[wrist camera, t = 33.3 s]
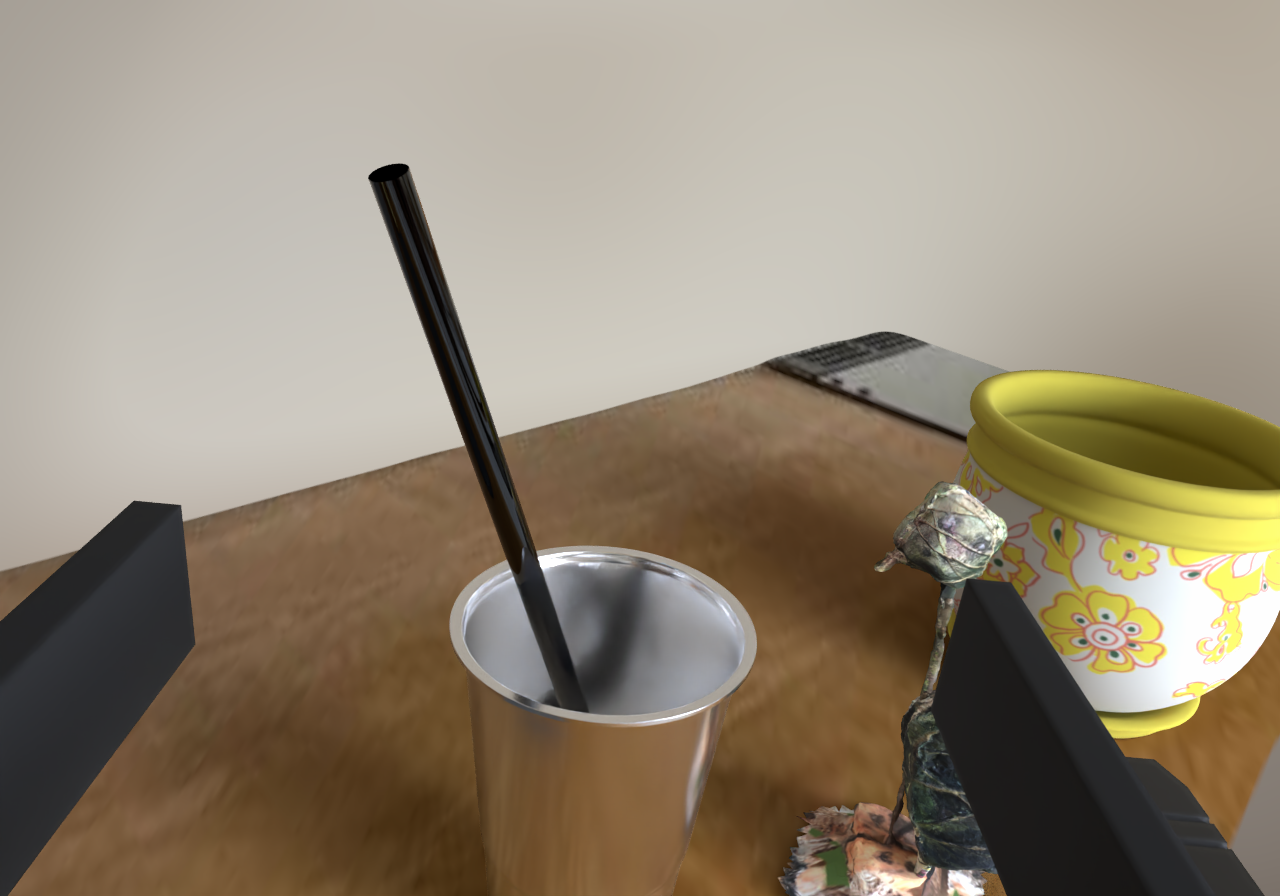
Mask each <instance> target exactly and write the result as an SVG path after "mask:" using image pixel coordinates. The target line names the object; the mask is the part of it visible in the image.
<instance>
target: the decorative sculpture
mask: <svg viewBox="0 0 1280 896" xmlns="http://www.w3.org/2000/svg"><path fill="white" fill-rule="evenodd" d="M893 534H894V537H893V539H894V544H895V549H894V550H893V551H892V552H887V553H886V555H885V557H884V559H882V560H880V561H879V562H877V563H876V564H875V566H874V569H875V570H876V571H880V572H884V571H886V570H889V569H890V568H891V567H892V566H893V565H894V564H897V563H902V564H905V565H908V566H910V567H911V568H915V569H919V570H922V571H924V572H926V573H929V574H930V575H931V576H932V577H933V578H934V579H935V580H936V581H938V582H940V583H941V585H940V586H941V592H940V597H939V605H938V609H937V613H938V616H937V619H936V626H935V629H936V635H935V640H934V645H933V650H932V652H931V658H930V664H929V668H928V671H927V675H926V679H925V682H924V684H923V687H922V691H921V694H920V696H919V697H917V698H916V699H915V700H913V701H912V704H911V706H909V710H907V712H906V714H905V715H904V716H903V718H902V722H901V730H902V732H901V739H902V742H903V745H904V761H903V764H902V770H903V782H902V784H901V786H900V788H899V792H898V796H897V805H896V807H895V809H894V811H891V810H889V809H887V808H885V807H883V806H880V805H877V804H872V803H863V802H861V803H858V804H856V805H855V808H854V810H850V809H848V808H846V807H845V806H843V805H842V807H841V809H840V811H838V810H837V808H836V806H834V807H832V808H830V809H829V808H826V807H823V806H821V807H820V808H819V809H817V810H816V811H810V812H813V813H804V812H803V813H804V814H805V816H806V818H807V819H805V818H802V817H798V816H797V817H798V818H800V819H802V820H804V821H806V822H808V823H810V824H811V825H809V826H806V827H803V828H800V829H798V831H801V832H804V833H807V834H806V835H803V836H800V837H797V841H798V846H799V848H795V847H790V849H791V851H792V854H793V855H792V856H791V857H789V859H791V860H792V861H793V862H791V863H787V864H788V865H789V866H790V867H791V868H792V869H790V868H784V867H783V870H784V873H785V875H786V876H782V877H778V879H779V881H780V883H781V885H782V887H783V888H784V889H785V890H786V892H785V893H787V894H789V895H790V896H981V895H984V894H985V893H983V892H982V891H984V890H983V886H982V884H984V883H985V882H987V880H986V879H985V878H983V877H982V876H981V875H980V874H982V873H984V871H985V872H988V873H993V874H998V872H997V870H996V868H995V865H994V863H993V860H992V858H991V855H990V853H989V851H988V848H987V846H986V843H985V841H984V838H983V836H982V834H981V831H980V829H979V826H978V824H977V821H976V819H975V816H974V814H973V812H972V809H971V807H970V804H969V802H968V799H967V797H966V795H965V792H964V790H963V787H962V785H961V782H960V780H959V778H958V775H957V773H956V770H955V768H954V765H953V763H952V761H951V758H950V756H949V753H948V751H947V748H946V746H945V744H944V741H943V739H942V736H941V734H940V731H939V729H938V727H937V724H936V722H935V719H934V717H933V714H932V712H931V706H932V703H933V699H934V695H935V692H936V690H933V691H932V687H933V684H934V683H935V681H936V679H937V675H938V672H939V670H940V663H941V660H942V656H943V651H944V637H945V636H946V626H947V624H948V622H949V620H950V617H951V614H952V609H953V608H954V595H955V593H956V590H955V589H959V588H963V587H964V586H965V582H966V578H969V579H976V578H977V577H980V576H981V575H982V574H983V571H984V570H985V569H986V568H987V564H988V562H989V561H990V558H991V557H992V556H993V555H995V554H996V553H997V552H998V551H999V549H1000V548H1001V546H1002V545H1003V543H1004V541H1005V539H1006V538H1007V526H1006V524H1005V521H1004V520H1003V519H1002V518H1000V517H997V515H996V514H994V513H993V512H991V511H990V510H989V508H988V507H987V506H985V505H984V504H982V503H981V502H980V501H979V500H978V499H977V498H975V497H974V496H973V495H972V494H970V492H969V491H967V490H966V489H964V488H963V487H962V486H960V485H958V484H957V483H946V482H938V483H937V484H936V485H935V486H934V487H933V488H932V489H931V490H930V491H929V493H928V494H927V496H926V497H925V500H924V501H923V502H922V503H921V504H920V505H919V506H917V507H916V508H915V509H914V510H913V511H912V512H910V513H909V514H908V515H907V516H906V518H904V519H903V521H902V522H901V524H900V525H899V526H898V527H897V529H896V530H895V532H894V533H893ZM904 791H905V793H906V796H907V809H908V812H909V817H906V816H904V815H903V814H901V813H900V812H901V810H902V808H903V804H904V803H903V796H904ZM977 887H978V888H977ZM980 889H981V890H982V891H981V890H980Z"/></svg>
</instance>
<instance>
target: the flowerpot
mask: <svg viewBox="0 0 1280 896" xmlns="http://www.w3.org/2000/svg"><path fill="white" fill-rule="evenodd" d="M970 410H971V413H972V416H973V418H974V420H975V422H976V424H975V425H973V426H972V428H971V429H970V430H969V433H968V435H967V446H968V449H967V452H966V454H965V457H964V459H963V461H962V464H961V466H960V468H959V470H958V473H957V475H956V477H955V480H954V482H953V483H957V484H958V485H960V486H962V487H963V488H964V489H966V490H967V491H969V492H970V494H972V495H973V496H974V497H975V498H977V499H978V500H979V501H980V502H981V503H982V504H984V505H985V506H987V507H988V508H989V510H990V511H991V512H993V513H994V514H996V515H997V517H1000V518H1002V519H1003V520H1004V521H1005V524H1006V526H1007V538H1006V539H1005V541H1004V543H1003V545H1002V546H1001V548H1000V549H999V551H998V552H997V553H996V554H995V555H993V556H992V557H991V558H990V561H989V562H988V564H987V568H986V569H985V570H984V571H983V574H982V575H981V576H980V577H977V578H976V579H980V580H990V581H1001V582H1011V583H1012V584H1013V586H1014V587H1015V589H1016V590H1017V592H1018V594H1019V595H1020V597H1021V598H1022V600H1023V601H1024V603H1025V604H1026V606H1027V607H1028V609H1029V610H1030V612H1031V613H1032V615H1033V616H1034V618H1035V620H1036V621H1037V623H1038V624H1039V626H1040V627H1041V629H1042V630H1043V632H1044V633H1045V635H1046V636H1047V638H1048V639H1049V641H1050V643H1051V644H1052V646H1053V647H1054V649H1055V650H1056V652H1057V653H1058V655H1059V656H1060V658H1061V659H1062V661H1063V662H1064V664H1065V665H1066V667H1067V669H1068V670H1069V672H1070V673H1071V675H1072V676H1073V678H1074V679H1075V681H1076V682H1077V684H1078V685H1079V687H1080V688H1081V690H1082V691H1083V693H1084V695H1085V696H1086V698H1087V699H1088V701H1089V702H1090V704H1091V705H1092V707H1093V708H1094V710H1095V711H1096V713H1097V714H1098V716H1099V717H1100V719H1101V721H1102V722H1103V724H1104V725H1105V727H1106V728H1107V730H1108V731H1109V733H1110V734H1111V736H1112V737H1113V738H1134V737H1141V736H1146V735H1149V734H1152V733H1155V732H1157V731H1161V730H1166V729H1169V728H1173V727H1175V726H1178V725H1180V724H1182V723H1184V722H1185V721H1187V720H1188V719H1189V718H1190V717H1191V716H1192V715H1193V714H1194V713H1195V711H1196V710H1197V708H1198V706H1199V702H1200V696H1201V695H1203V694H1205V693H1207V692H1209V691H1211V690H1212V689H1214V688H1216V687H1217V686H1219V685H1220V684H1222V683H1223V682H1225V681H1226V680H1228V679H1229V678H1230V677H1232V676H1233V675H1234V674H1235V673H1237V672H1238V671H1239V670H1240V669H1241V668H1242V667H1243V666H1244V665H1245V664H1246V663H1247V662H1248V661H1249V660H1250V659H1251V658H1252V656H1253V655H1254V654H1255V653H1256V651H1257V650H1258V648H1259V647H1260V646H1261V644H1262V643H1263V641H1264V640H1265V638H1266V636H1267V635H1268V633H1269V631H1270V629H1271V627H1272V625H1273V623H1274V621H1275V619H1276V617H1277V614H1278V612H1279V610H1280V427H1278V426H1276V425H1274V424H1272V423H1270V422H1267V421H1266V420H1263V419H1261V418H1259V417H1256V416H1254V415H1251V414H1249V413H1246V412H1243V411H1241V410H1239V409H1236V408H1233V407H1230V406H1227V405H1225V404H1222V403H1218V402H1216V401H1212V400H1209V399H1206V398H1203V397H1200V396H1196V395H1193V394H1189V393H1186V392H1182V391H1179V390H1175V389H1171V388H1166V387H1163V386H1159V385H1154V384H1150V383H1145V382H1140V381H1135V380H1130V379H1125V378H1119V377H1113V376H1106V375H1100V374H1092V373H1084V372H1074V371H1059V370H1025V371H1014V372H1007V373H1002V374H998V375H995V376H992V377H990V378H987V379H986V380H984V381H982V382H981V383H980V384H979V385H978V386H977V387H976V388H975V390H974V391H973V393H972V396H971V400H970ZM963 589H964V587H963V588H959V589H955V590H956V593H955V595H954V608H953V609H952V614H951V617H950V620H949V622H948V624H947V628H948V633H949V637H951V633H952V630H953V626H954V622H955V619H956V615H957V611H958V608H959V604H960V600H961V597H962V593H963Z"/></svg>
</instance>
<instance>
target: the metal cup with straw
mask: <svg viewBox="0 0 1280 896" xmlns="http://www.w3.org/2000/svg"><path fill="white" fill-rule="evenodd" d="M368 179H369V181H370V184H371V187H372V189H373V192H374V195H375V198H376V201H377V203H378V206H379V209H380V211H381V214H382V217H383V220H384V223H385V225H386V228H387V231H388V234H389V236H390V239H391V242H392V245H393V248H394V250H395V253H396V256H397V259H398V261H399V264H400V267H401V270H402V272H403V275H404V278H405V281H406V283H407V286H408V289H409V291H410V294H411V297H412V300H413V303H414V305H415V308H416V311H417V314H418V316H419V319H420V321H421V324H422V327H423V330H424V333H425V336H426V338H427V341H428V344H429V347H430V349H431V352H432V355H433V357H434V360H435V363H436V366H437V369H438V371H439V374H440V377H441V379H442V382H443V385H444V388H445V391H446V394H447V396H448V399H449V402H450V405H451V407H452V410H453V413H454V415H455V418H456V421H457V424H458V427H459V429H460V432H461V435H462V438H463V440H464V443H465V446H466V449H467V451H468V454H469V457H470V460H471V462H472V465H473V468H474V471H475V473H476V476H477V479H478V482H479V484H480V487H481V490H482V493H483V495H484V498H485V501H486V504H487V506H488V509H489V512H490V515H491V517H492V520H493V523H494V526H495V528H496V531H497V534H498V537H499V540H500V542H501V545H502V548H503V551H504V553H505V556H506V559H507V560H506V561H504V562H501V563H499V564H497V565H495V566H493V567H491V568H489V569H488V570H486V571H485V572H483V573H482V574H480V575H479V576H477V577H476V578H475V579H474V580H472V581H471V582H470V583H469V584H468V585H467V586H466V587H465V588H464V590H463V591H462V592H461V593H460V595H459V596H458V598H457V600H456V602H455V604H454V606H453V609H452V612H451V616H450V639H451V644H452V647H453V650H454V652H455V654H456V656H457V658H458V660H459V662H460V663H461V665H462V666H463V667H464V669H465V670H466V673H467V684H468V695H469V706H470V717H471V728H472V740H473V751H474V762H475V774H476V785H477V797H478V808H479V820H480V831H481V837H482V842H483V845H484V851H485V863H486V877H487V890H488V896H672V894H673V890H674V887H675V883H676V879H677V876H678V872H679V868H680V865H681V863H682V861H683V859H684V856H685V854H686V851H687V849H688V845H689V841H690V838H691V834H692V831H693V827H694V824H695V820H696V817H697V813H698V809H699V806H700V802H701V799H702V795H703V792H704V788H705V785H706V781H707V778H708V774H709V771H710V767H711V764H712V760H713V757H714V753H715V750H716V746H717V743H718V739H719V736H720V732H721V729H722V725H723V722H724V718H725V715H726V711H727V708H728V704H729V701H730V697H731V695H732V694H733V693H734V692H735V691H736V690H737V689H738V688H739V687H740V686H741V685H742V684H743V682H744V681H745V680H746V678H747V677H748V675H749V673H750V671H751V669H752V667H753V664H754V661H755V656H756V650H757V638H756V632H755V628H754V625H753V623H752V621H751V619H750V616H749V615H748V613H747V611H746V610H745V608H744V607H743V606H742V605H741V603H740V602H739V601H738V600H737V599H736V598H735V597H734V596H733V595H732V594H731V593H730V592H729V591H728V590H727V589H725V588H724V587H723V586H722V585H720V584H719V583H717V582H716V581H714V580H713V579H711V578H710V577H708V576H706V575H705V574H703V573H701V572H699V571H697V570H695V569H693V568H691V567H689V566H686V565H684V564H682V563H679V562H676V561H674V560H671V559H668V558H665V557H661V556H658V555H654V554H650V553H646V552H642V551H636V550H631V549H624V548H616V547H605V546H570V547H559V548H551V549H545V550H540V551H536V549H535V546H534V543H533V540H532V537H531V534H530V531H529V528H528V525H527V522H526V519H525V516H524V513H523V510H522V507H521V504H520V501H519V498H518V495H517V492H516V489H515V486H514V483H513V480H512V477H511V474H510V471H509V468H508V465H507V462H506V458H505V455H504V452H503V449H502V446H501V443H500V440H499V437H498V434H497V432H496V428H495V425H494V422H493V419H492V416H491V413H490V410H489V407H488V404H487V401H486V398H485V396H484V392H483V389H482V386H481V383H480V380H479V377H478V374H477V371H476V368H475V365H474V362H473V359H472V356H471V353H470V350H469V347H468V344H467V341H466V338H465V335H464V332H463V329H462V326H461V323H460V320H459V317H458V314H457V311H456V308H455V305H454V302H453V299H452V296H451V293H450V290H449V287H448V284H447V281H446V277H445V274H444V271H443V268H442V265H441V263H440V260H439V256H438V254H437V250H436V247H435V244H434V242H433V239H432V235H431V232H430V229H429V226H428V223H427V220H426V217H425V214H424V211H423V208H422V205H421V202H420V199H419V196H418V193H417V190H416V187H415V184H414V181H413V178H412V175H411V172H410V169H409V166H407V165H406V164H391V165H387V166H384V167H381V168H379V169H377V170H375V171H373V172H372V173H371V174H370V175H369V177H368Z"/></svg>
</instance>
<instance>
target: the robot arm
mask: <svg viewBox="0 0 1280 896" xmlns="http://www.w3.org/2000/svg"><path fill="white" fill-rule="evenodd" d="M194 645H195V637H194V627H193V617H192V607H191V598H190V588H189V578H188V569H187V559H186V549H185V539H184V530H183V520H182V511H181V505H174V504H162V503H152V502H142V501H133V502H132V503H131V504H130V505H129V506H128V507H127V508H125V509H124V510H123V511H122V512H121V513H120V514H119V515H118V516H117V517H116V518H115V519H113V520H112V521H111V522H110V523H109V524H108V525H107V526H106V527H104V528H103V529H102V530H101V531H100V532H99V533H98V534H97V535H96V536H94V537H93V538H92V539H91V540H90V541H89V542H88V543H87V544H86V545H85V546H83V547H82V548H81V549H80V550H79V551H78V552H77V553H76V554H74V555H73V556H72V557H71V558H70V559H69V560H68V561H67V562H66V563H65V564H63V565H62V566H61V567H60V568H59V569H58V570H57V571H56V572H55V573H53V574H52V575H51V576H50V577H49V578H48V579H47V580H46V581H45V582H43V583H42V584H41V585H40V586H39V587H38V588H37V589H36V590H35V591H34V592H32V593H31V594H30V595H29V596H28V597H27V598H26V599H25V600H24V601H22V602H21V603H20V604H19V605H18V606H17V607H16V608H15V609H14V610H12V611H11V612H10V613H9V614H8V615H7V616H6V617H5V618H4V619H3V620H1V621H0V896H8V894H9V893H10V892H11V890H12V889H13V888H14V886H15V885H16V884H17V882H18V881H19V880H20V878H21V877H22V876H23V874H24V873H25V872H26V870H27V869H28V868H29V866H30V865H31V864H32V862H33V861H34V860H35V858H36V857H37V856H38V854H39V853H40V852H41V850H42V849H43V848H44V846H45V845H46V844H47V842H48V841H49V840H50V838H51V837H52V835H53V834H54V833H55V831H56V830H57V829H58V827H59V826H60V825H61V823H62V822H63V821H64V819H65V818H66V817H67V815H68V814H69V813H70V811H71V810H72V809H73V807H74V806H75V805H76V803H77V802H78V801H79V799H80V798H81V797H82V795H83V794H84V793H85V791H86V790H87V789H88V787H89V786H90V785H91V783H92V782H93V781H94V779H95V778H96V777H97V775H98V774H99V773H100V771H101V770H102V769H103V767H104V766H105V765H106V763H107V762H108V761H109V759H110V758H111V757H112V755H113V754H114V752H115V751H116V750H117V748H118V747H119V746H120V744H121V743H122V742H123V740H124V739H125V738H126V736H127V735H128V734H129V732H130V731H131V730H132V728H133V727H134V726H135V724H136V723H137V722H138V720H139V719H140V718H141V716H142V715H143V714H144V712H145V711H146V710H147V708H148V707H149V706H150V704H151V703H152V702H153V700H154V699H155V698H156V696H157V695H158V694H159V692H160V691H161V690H162V688H163V687H164V686H165V684H166V683H167V682H168V680H169V679H170V678H171V676H172V675H173V673H174V672H175V671H176V669H177V668H178V667H179V665H180V664H181V663H182V661H183V660H184V659H185V657H186V656H187V655H188V653H189V652H190V651H191V649H192V648H193V647H194ZM931 712H932V714H933V717H934V719H935V722H936V724H937V727H938V729H939V731H940V734H941V736H942V739H943V741H944V744H945V746H946V748H947V751H948V753H949V756H950V758H951V761H952V763H953V765H954V768H955V770H956V773H957V775H958V778H959V780H960V782H961V785H962V787H963V790H964V792H965V795H966V797H967V799H968V802H969V804H970V807H971V809H972V812H973V814H974V816H975V819H976V821H977V824H978V826H979V829H980V831H981V834H982V836H983V838H984V841H985V843H986V846H987V848H988V851H989V853H990V855H991V858H992V860H993V863H994V865H995V868H996V870H997V872H998V875H999V877H1000V880H1001V882H1002V885H1003V887H1004V889H1005V892H1006V894H1007V896H1264V894H1263V893H1262V892H1261V890H1260V889H1259V887H1258V886H1257V885H1256V883H1255V882H1254V880H1253V879H1252V877H1251V876H1250V875H1249V873H1248V872H1247V871H1246V869H1245V868H1244V866H1243V865H1242V863H1241V862H1240V861H1239V859H1238V858H1237V857H1236V855H1235V854H1234V852H1233V851H1232V849H1228V848H1227V842H1226V841H1225V839H1224V838H1223V837H1222V835H1221V834H1220V832H1219V831H1218V829H1217V828H1216V827H1215V825H1214V824H1210V823H1209V817H1208V815H1207V814H1206V813H1205V811H1204V810H1203V808H1202V807H1201V806H1200V804H1199V803H1198V801H1197V800H1196V798H1195V797H1194V796H1193V794H1192V793H1191V791H1190V790H1189V789H1188V787H1187V786H1185V785H1184V784H1183V783H1182V782H1181V781H1179V780H1178V779H1177V778H1176V777H1175V776H1173V775H1172V774H1171V773H1170V772H1169V771H1167V770H1166V769H1165V768H1164V767H1163V766H1161V765H1160V764H1159V763H1158V762H1157V761H1155V760H1154V759H1143V758H1131V757H1125V756H1124V754H1123V753H1122V751H1121V750H1120V748H1119V747H1118V745H1117V744H1116V742H1115V740H1114V739H1113V737H1112V736H1111V734H1110V733H1109V731H1108V730H1107V728H1106V727H1105V725H1104V724H1103V722H1102V721H1101V719H1100V717H1099V716H1098V714H1097V713H1096V711H1095V710H1094V708H1093V707H1092V705H1091V704H1090V702H1089V701H1088V699H1087V698H1086V696H1085V695H1084V693H1083V691H1082V690H1081V688H1080V687H1079V685H1078V684H1077V682H1076V681H1075V679H1074V678H1073V676H1072V675H1071V673H1070V672H1069V670H1068V669H1067V667H1066V665H1065V664H1064V662H1063V661H1062V659H1061V658H1060V656H1059V655H1058V653H1057V652H1056V650H1055V649H1054V647H1053V646H1052V644H1051V643H1050V641H1049V639H1048V638H1047V636H1046V635H1045V633H1044V632H1043V630H1042V629H1041V627H1040V626H1039V624H1038V623H1037V621H1036V620H1035V618H1034V616H1033V615H1032V613H1031V612H1030V610H1029V609H1028V607H1027V606H1026V604H1025V603H1024V601H1023V600H1022V598H1021V597H1020V595H1019V594H1018V592H1017V590H1016V589H1015V587H1014V586H1013V584H1012V583H1011V582H1001V581H990V580H980V579H969V578H966V582H965V586H964V589H963V593H962V597H961V600H960V604H959V608H958V611H957V615H956V619H955V622H954V626H953V630H952V633H951V637H950V641H949V644H948V648H947V652H946V655H945V659H944V662H943V666H942V670H941V673H940V677H939V681H938V684H937V688H936V692H935V695H934V699H933V703H932V706H931Z"/></svg>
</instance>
